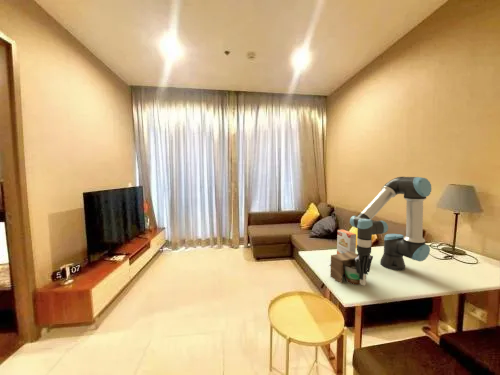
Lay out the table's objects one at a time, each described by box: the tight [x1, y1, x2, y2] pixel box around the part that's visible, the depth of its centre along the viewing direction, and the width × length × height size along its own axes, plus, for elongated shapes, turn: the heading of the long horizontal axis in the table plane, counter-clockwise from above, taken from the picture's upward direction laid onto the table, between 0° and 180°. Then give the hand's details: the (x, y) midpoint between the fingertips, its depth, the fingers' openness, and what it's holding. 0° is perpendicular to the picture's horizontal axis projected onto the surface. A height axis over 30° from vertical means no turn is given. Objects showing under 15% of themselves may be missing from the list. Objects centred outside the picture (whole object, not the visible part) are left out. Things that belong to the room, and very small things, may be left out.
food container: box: [343, 265, 361, 286], centre depth 135 cm, size 12×6×10 cm, turn 78°
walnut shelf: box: [329, 252, 358, 284], centre depth 142 cm, size 17×9×14 cm, turn 111°
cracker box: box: [336, 229, 357, 254], centre depth 174 cm, size 14×6×21 cm, turn 20°
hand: (362, 284), depth 131 cm, fingers closed
